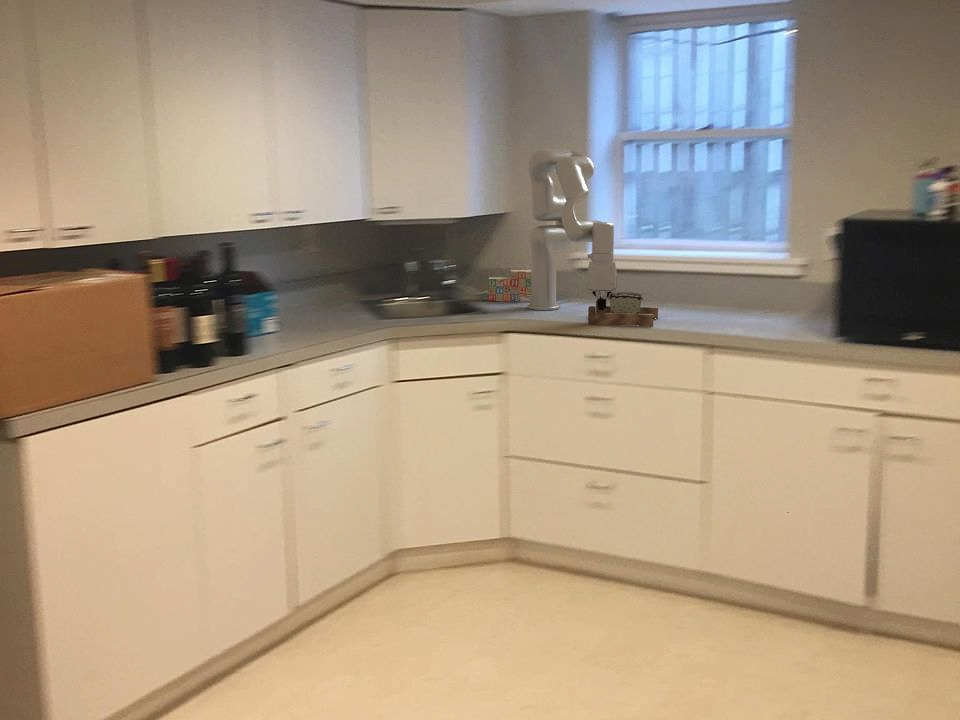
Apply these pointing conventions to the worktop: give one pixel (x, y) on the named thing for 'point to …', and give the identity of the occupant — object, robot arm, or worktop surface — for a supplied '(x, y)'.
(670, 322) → the worktop surface
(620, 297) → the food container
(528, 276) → the stack of blocks
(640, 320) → the wooden tray
